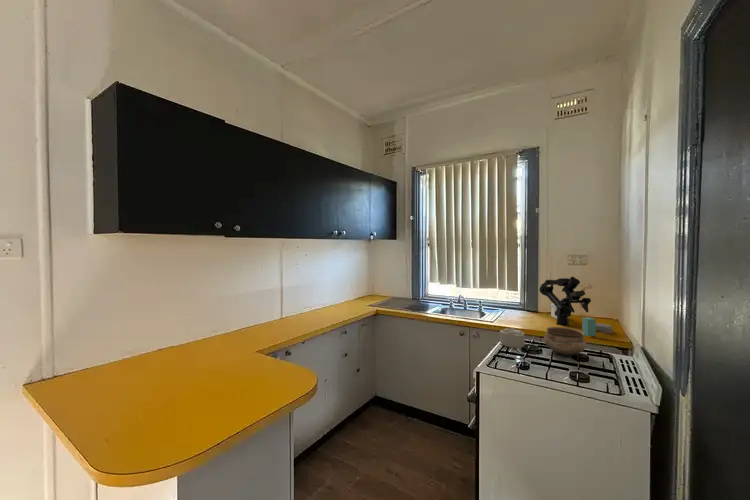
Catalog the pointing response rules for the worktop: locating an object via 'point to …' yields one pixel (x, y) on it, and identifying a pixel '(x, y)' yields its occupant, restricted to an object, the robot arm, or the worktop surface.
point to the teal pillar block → (589, 326)
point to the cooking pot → (565, 340)
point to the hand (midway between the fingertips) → (581, 312)
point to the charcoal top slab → (603, 327)
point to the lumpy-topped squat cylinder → (512, 338)
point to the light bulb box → (553, 311)
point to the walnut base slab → (605, 331)
